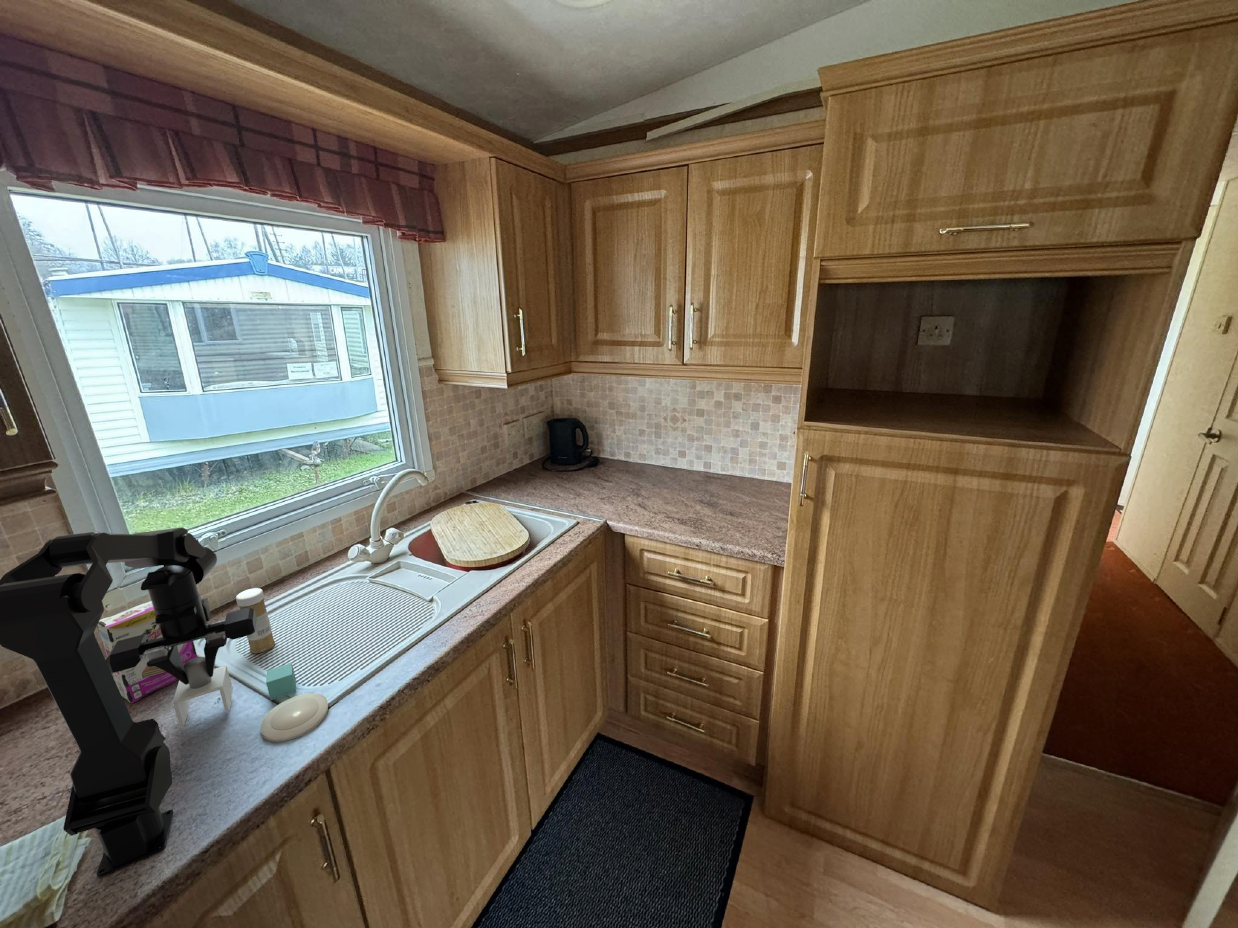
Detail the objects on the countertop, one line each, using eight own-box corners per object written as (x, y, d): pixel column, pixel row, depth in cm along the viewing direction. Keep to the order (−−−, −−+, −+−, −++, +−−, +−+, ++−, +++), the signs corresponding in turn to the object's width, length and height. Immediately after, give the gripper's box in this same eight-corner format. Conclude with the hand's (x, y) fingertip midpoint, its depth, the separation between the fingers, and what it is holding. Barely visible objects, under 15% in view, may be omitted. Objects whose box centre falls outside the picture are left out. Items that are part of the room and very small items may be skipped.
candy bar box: (131, 705, 89) (105, 628, 85) (119, 696, 92) (92, 621, 87) (203, 668, 99) (182, 597, 95) (190, 661, 101) (169, 591, 97)
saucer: (330, 724, 84) (329, 718, 84) (260, 751, 79) (258, 745, 79) (327, 690, 92) (325, 685, 92) (263, 712, 87) (261, 707, 87)
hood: (229, 711, 86) (216, 665, 83) (180, 727, 82) (165, 680, 80) (232, 689, 91) (221, 645, 89) (187, 703, 88) (173, 658, 85)
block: (296, 691, 92) (291, 674, 91) (270, 700, 90) (266, 682, 89) (295, 679, 96) (291, 662, 94) (271, 687, 93) (267, 670, 92)
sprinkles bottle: (272, 638, 108) (259, 584, 105) (277, 647, 105) (264, 592, 102) (247, 648, 105) (233, 593, 102) (252, 657, 102) (237, 601, 99)
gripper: (249, 566, 92) (266, 637, 96) (113, 596, 82) (139, 673, 87) (244, 591, 83) (263, 668, 87) (91, 628, 73) (121, 713, 78)
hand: (199, 679), depth 85 cm, fingers closed on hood, 3 cm apart
